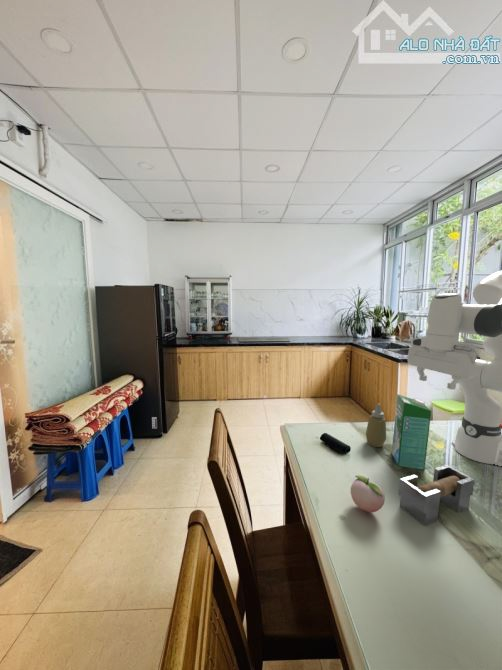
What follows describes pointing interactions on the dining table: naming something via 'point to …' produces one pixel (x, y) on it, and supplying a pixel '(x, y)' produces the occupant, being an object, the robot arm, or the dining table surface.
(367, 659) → the dining table surface
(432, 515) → the bracket
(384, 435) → the squeeze bottle
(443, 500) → the bracket
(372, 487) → the decorative fruit
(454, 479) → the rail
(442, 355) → the robot arm
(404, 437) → the milk carton
